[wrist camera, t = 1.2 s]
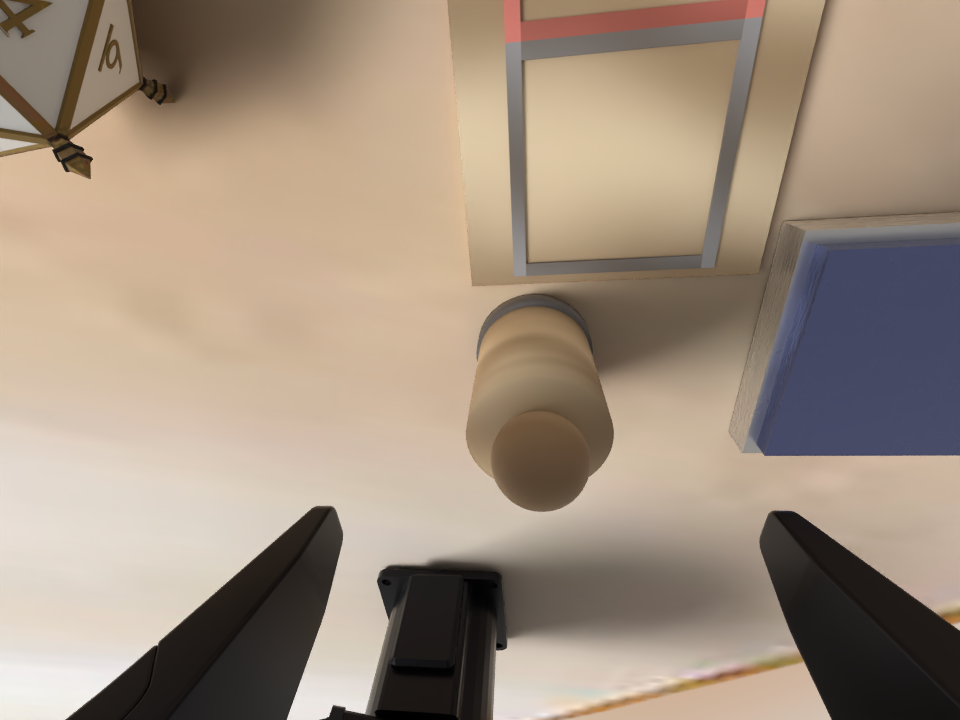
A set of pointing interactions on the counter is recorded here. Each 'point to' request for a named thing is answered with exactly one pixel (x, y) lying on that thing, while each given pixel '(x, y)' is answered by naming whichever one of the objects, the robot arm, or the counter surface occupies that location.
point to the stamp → (538, 403)
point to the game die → (65, 73)
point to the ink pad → (857, 341)
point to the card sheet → (624, 133)
